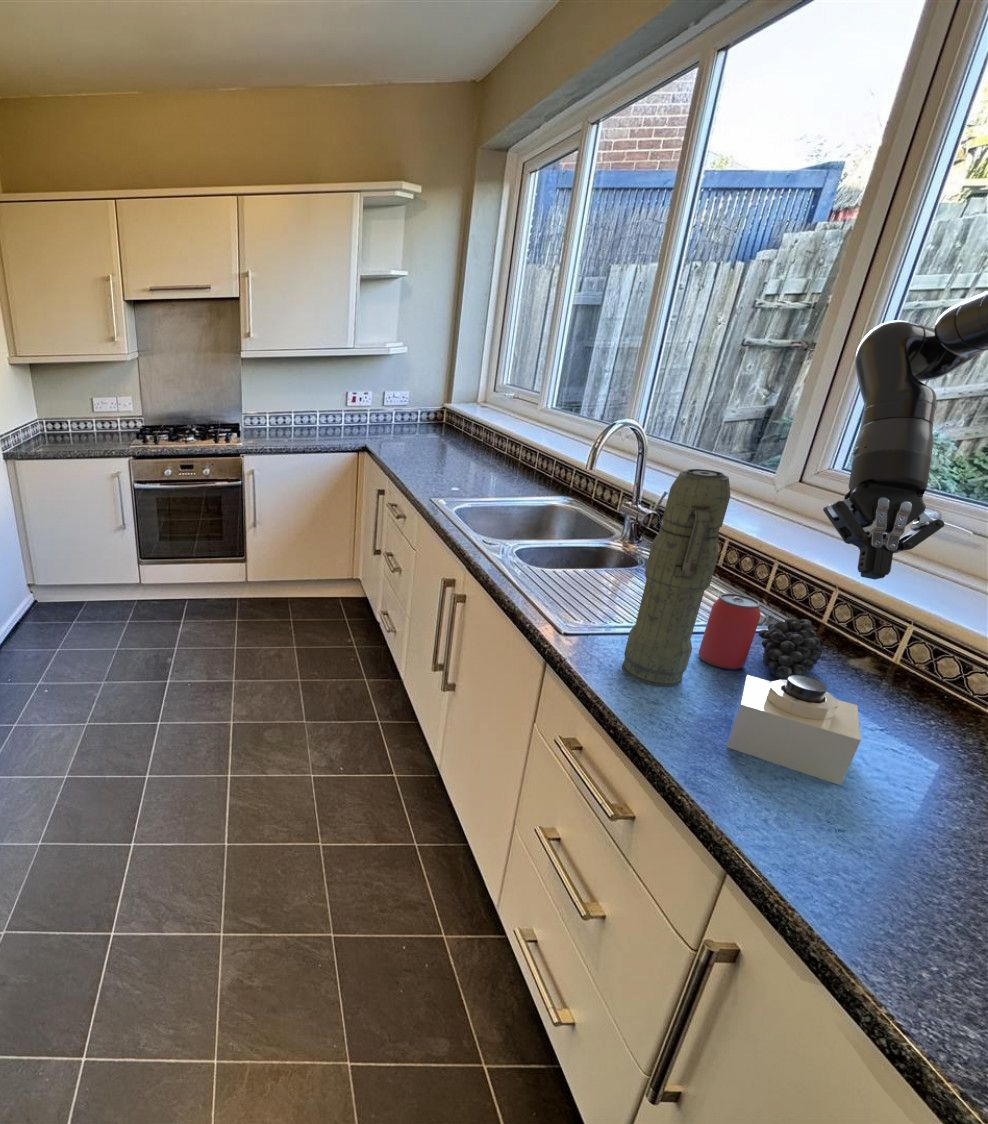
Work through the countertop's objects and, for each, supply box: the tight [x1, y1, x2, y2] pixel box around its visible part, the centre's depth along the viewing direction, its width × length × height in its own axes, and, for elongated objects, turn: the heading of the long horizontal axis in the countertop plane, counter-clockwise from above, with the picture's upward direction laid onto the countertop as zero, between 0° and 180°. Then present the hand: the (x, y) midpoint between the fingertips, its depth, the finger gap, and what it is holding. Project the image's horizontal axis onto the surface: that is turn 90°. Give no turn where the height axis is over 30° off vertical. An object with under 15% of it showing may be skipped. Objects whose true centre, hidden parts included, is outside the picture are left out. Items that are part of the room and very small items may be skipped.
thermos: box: [621, 468, 731, 688], centre depth 99 cm, size 9×12×35 cm
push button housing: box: [726, 674, 862, 786], centre depth 85 cm, size 12×10×9 cm
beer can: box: [698, 592, 761, 670], centre depth 106 cm, size 7×7×12 cm
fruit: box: [758, 617, 823, 680], centre depth 104 cm, size 9×8×15 cm
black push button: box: [783, 675, 828, 703], centre depth 83 cm, size 4×4×2 cm
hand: (872, 577), depth 83 cm, fingers closed
